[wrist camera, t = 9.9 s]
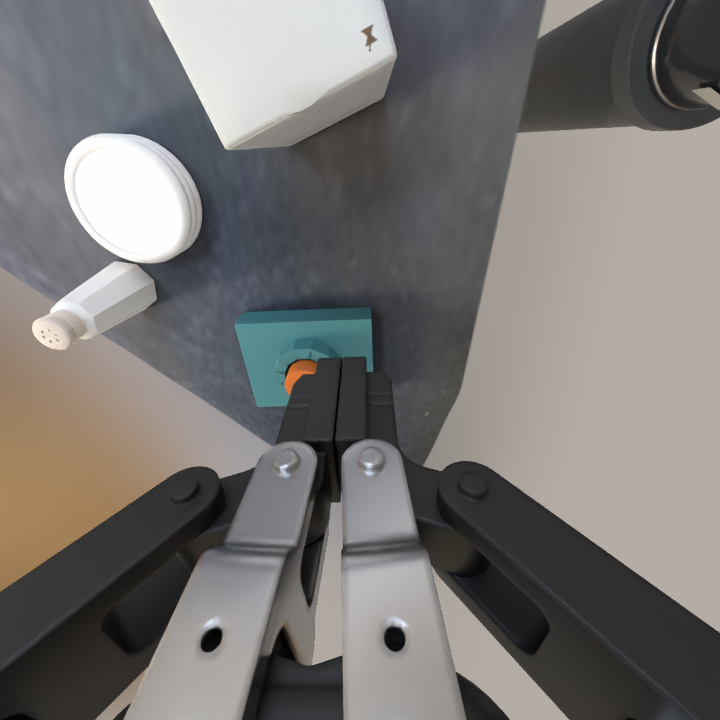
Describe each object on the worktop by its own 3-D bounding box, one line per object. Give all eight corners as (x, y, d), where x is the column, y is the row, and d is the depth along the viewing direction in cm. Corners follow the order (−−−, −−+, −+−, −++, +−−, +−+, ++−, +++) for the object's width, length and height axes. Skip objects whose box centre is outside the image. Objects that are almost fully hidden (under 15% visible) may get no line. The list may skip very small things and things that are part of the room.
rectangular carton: (340, -59, 22) (308, -317, 10) (386, 98, 27) (405, 59, 14) (225, 14, 24) (76, -123, 12) (285, 149, 29) (224, 155, 16)
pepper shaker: (140, 254, 34) (55, 296, 25) (168, 303, 37) (102, 358, 27) (92, 266, 35) (-7, 311, 25) (124, 313, 37) (44, 370, 28)
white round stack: (210, 260, 34) (196, 271, 31) (108, 248, 34) (83, 258, 31) (196, 142, 29) (177, 142, 26) (74, 126, 28) (40, 124, 25)
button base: (371, 306, 37) (371, 328, 32) (373, 387, 43) (374, 414, 38) (243, 311, 37) (227, 333, 33) (263, 391, 43) (252, 418, 39)
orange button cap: (324, 358, 35) (322, 369, 33) (328, 389, 37) (326, 401, 35) (285, 359, 35) (281, 371, 33) (291, 390, 37) (288, 402, 35)
